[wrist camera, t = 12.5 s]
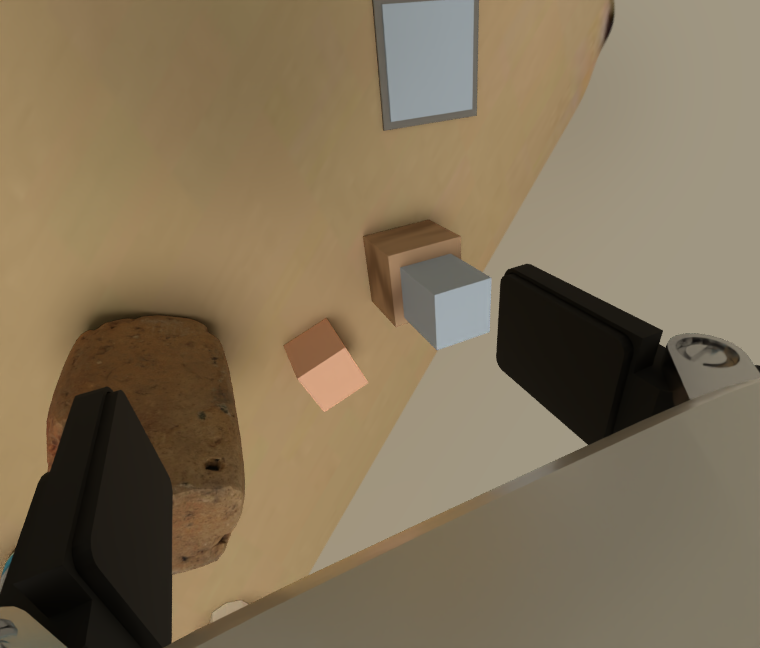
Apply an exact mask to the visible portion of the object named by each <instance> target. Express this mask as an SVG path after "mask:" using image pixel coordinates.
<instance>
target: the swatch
mask: <svg viewBox="0 0 760 648" xmlns="http://www.w3.org/2000/svg"><path fill="white" fill-rule="evenodd" d="M372 1H373V13H374V25H375V36H376V48H377V60H378V72H379V84H380V95H381V107H382V119H383V130H384V131H385V130H391V129H397V128H403V127H409V126H415V125H422V124H428V123H434V122H440V121H446V120H452V119H458V118H464V117H471V116H477V71H478V20H479V0H372Z"/></svg>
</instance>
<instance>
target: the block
mask: <svg viewBox="0 0 760 648" xmlns="http://www.w3.org/2000/svg"><path fill="white" fill-rule="evenodd" d="M106 386H108V387H110V388H111V389H112V390H113V392H114V391H117V390H122V391H123V392H124V393H125V395H126V397H127V398H128V400H129V402H130V404H131V406H132V408H133V410H134V411H135V413H136V415H137V417H138V419H139V421H140V423H141V425H142V426H143V428H144V430H145V432H146V434H147V436H148V438H149V439H150V441H151V443H152V445H153V447H154V449H155V451H156V452H157V454H158V456H159V458H160V460H161V462H162V464H163V466H164V467H165V469H166V471H167V473H168V475H169V477H170V480H171V484H172V490H173V516H172V575H173V574H177V573H182V572H186V571H189V570H192V569H196V568H199V567H202V566H205V565H207V564H210V563H212V562H214V561H217V560H218V559H219V557H220V556H221V555H222V554H223V552H224V551H225V548H226V545H227V543H228V540H229V538H230V535H231V532H232V531H233V530H234V528H235V527H236V525H237V522H238V520H239V518H240V516H241V513H242V508H243V503H244V495H245V477H244V462H243V455H242V447H241V437H240V432H239V425H238V419H237V413H236V408H235V400H234V395H233V388H232V383H231V379H230V372H229V368H228V364H227V360H226V358H225V354H224V351H223V347H222V345H221V343H220V341H219V340H218V339H217V338H216V337H215V336H213V335H212V334H210V333H208V332H207V328H206V326H205V325H203V324H201V323H200V322H198V321H196V320H192V319H188V318H181V317H172V316H162V315H155V316H143V317H140V318H137V319H129V318H128V319H120V320H115V321H112V322H107V323H104V324H103V325H101V326H100V327H99V328H97V329H96V330H88V331H86V332H85V333H83V334H81V335H80V337H79V338H78V339H77V340H76V342H75V344H74V346H73V348H72V349H71V351H70V353H69V355H68V358H67V360H66V362H65V365H64V367H63V370H62V372H61V375H60V378H59V380H58V383H57V386H56V388H55V391H54V394H53V398H52V402H51V405H50V408H49V413H48V418H47V432H46V435H47V462H48V472H50V470H51V467H52V464H53V461H54V457H55V454H56V451H57V448H58V445H59V442H60V439H61V436H62V433H63V430H64V427H65V424H66V421H67V418H68V415H69V412H70V409H71V405H72V402H73V399H74V397H75V396H76V395H79V394H82V393H86V392H89V391H93V390H96V389H100V388H103V387H106Z"/></svg>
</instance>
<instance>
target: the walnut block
mask: <svg viewBox="0 0 760 648" xmlns="http://www.w3.org/2000/svg"><path fill="white" fill-rule="evenodd" d="M363 240H364V248H365V255H366V262H367V269H368V277H369V284H370V291H371V298H372V302H373V303H374V304H375V305H376V306H377V307H378V308H379V309H380V310H381V311H382V313H383V314H384V315H385V316H386V317H387V318H388V319H389V320H390V321H391V322H392V323H393V325H394V326H395V327H398V326H401V325H404V324H407V323H409V322H408V321H407V320H406V319H405V318H404V308H403V297H402V286H401V274H400V267H404V266H408V265H411V264H415V263H418V262H422V261H426V260H429V259H433V258H437V257H440V256H444V255H447V254H452V255H454V256H456V257H457V258H459V259H461V236H459V235H457V234H455V233H453V232H451V231H449V230H447V229H446V228H444V227H442V226H440V225H438V224H436V223H434V222H432V221H430V220H425V221H421V222H417V223H413V224H410V225H406V226H402V227H398V228H394V229H390V230H386V231H382V232H378V233H374V234H370V235H366V236H363Z"/></svg>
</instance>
